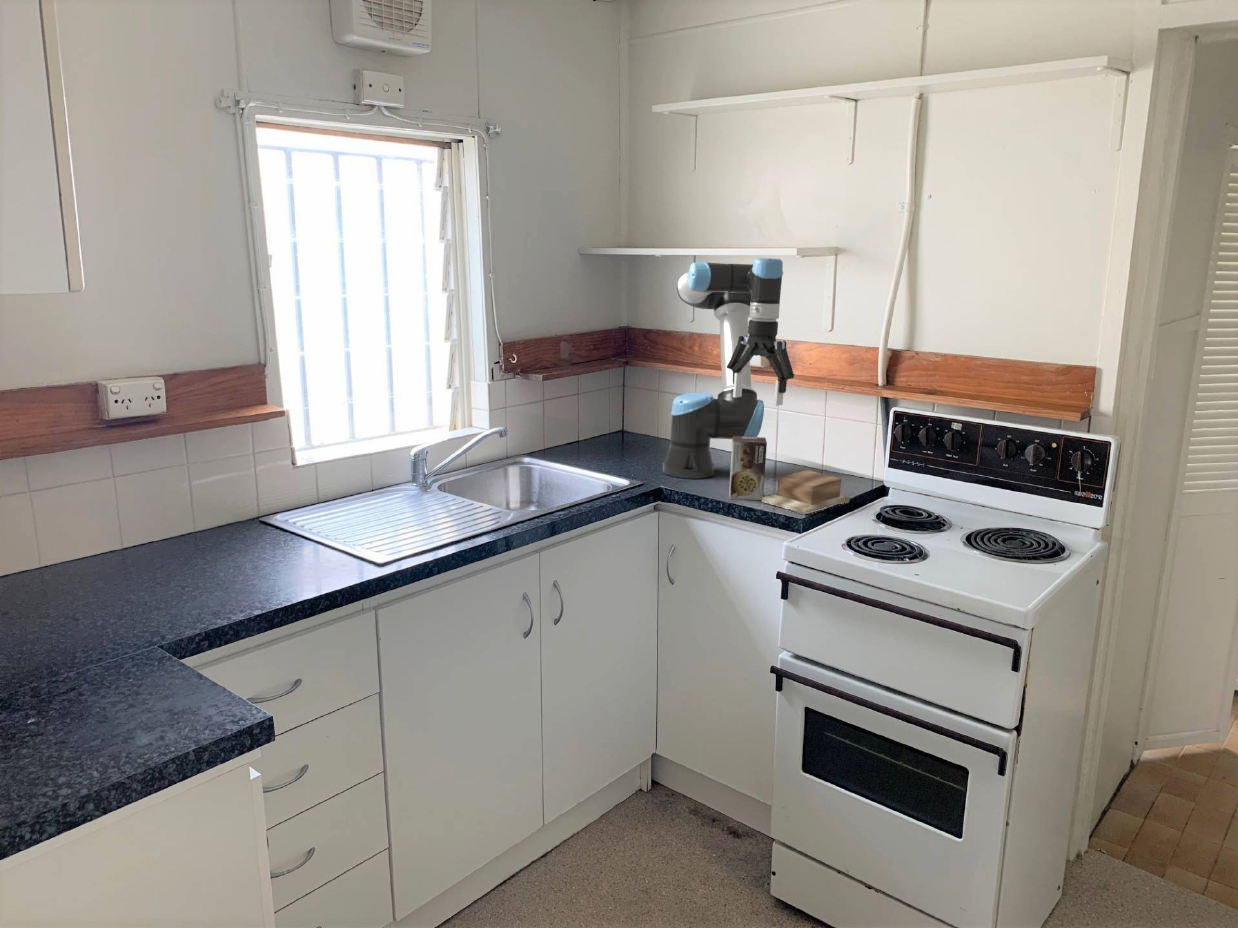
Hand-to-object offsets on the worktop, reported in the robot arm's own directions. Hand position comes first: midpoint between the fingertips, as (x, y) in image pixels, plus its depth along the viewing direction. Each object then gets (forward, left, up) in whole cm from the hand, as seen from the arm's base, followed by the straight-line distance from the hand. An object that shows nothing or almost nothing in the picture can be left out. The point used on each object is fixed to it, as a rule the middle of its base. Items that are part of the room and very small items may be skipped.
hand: (757, 401), depth 241 cm
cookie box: (-1, 0, -27) cm, 27 cm away
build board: (+12, +9, -26) cm, 30 cm away
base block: (+12, +10, -25) cm, 29 cm away
